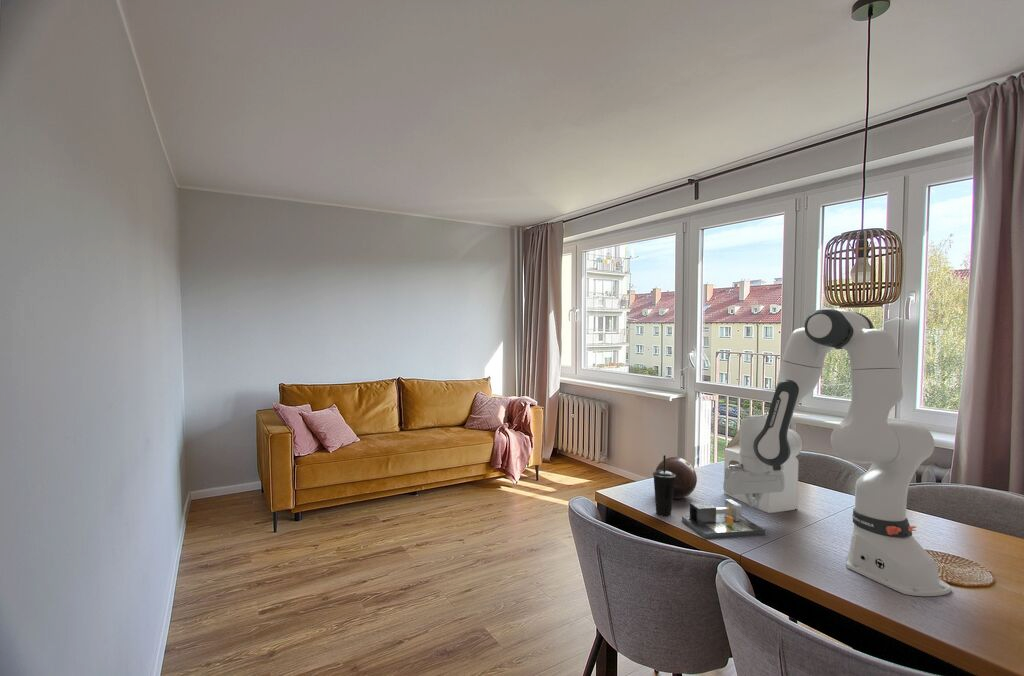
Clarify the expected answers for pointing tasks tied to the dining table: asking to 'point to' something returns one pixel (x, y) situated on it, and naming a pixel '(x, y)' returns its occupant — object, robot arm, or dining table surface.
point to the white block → (732, 510)
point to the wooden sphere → (680, 476)
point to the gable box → (775, 499)
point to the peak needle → (729, 518)
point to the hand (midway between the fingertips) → (753, 506)
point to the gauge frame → (717, 523)
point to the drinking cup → (664, 490)
